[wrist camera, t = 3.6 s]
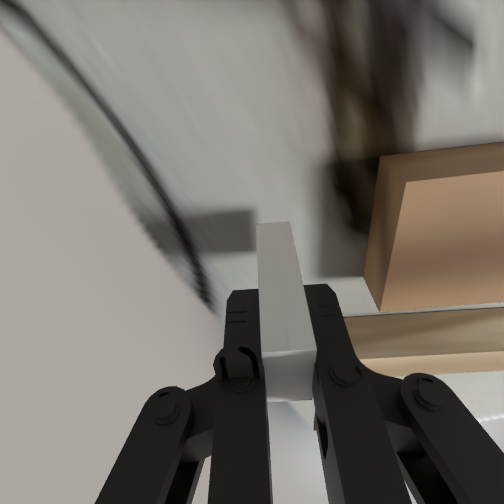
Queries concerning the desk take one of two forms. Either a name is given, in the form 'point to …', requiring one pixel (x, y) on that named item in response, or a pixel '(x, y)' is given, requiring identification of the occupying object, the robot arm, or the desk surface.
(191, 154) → the desk surface
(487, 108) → the desk surface
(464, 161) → the slab
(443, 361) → the rail
